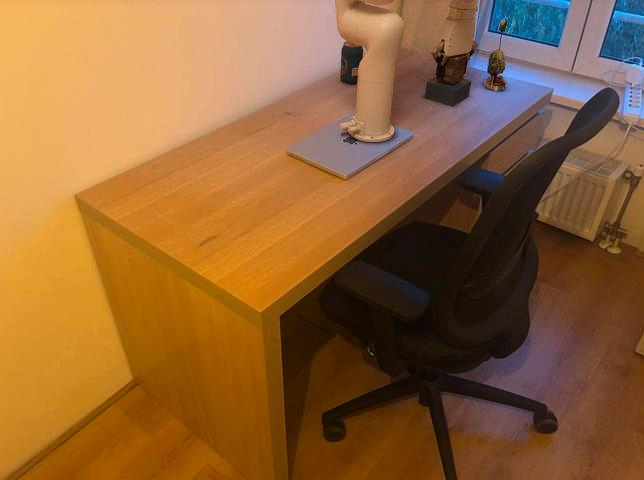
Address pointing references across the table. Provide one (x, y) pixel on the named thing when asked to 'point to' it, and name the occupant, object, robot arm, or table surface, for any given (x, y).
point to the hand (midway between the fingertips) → (450, 74)
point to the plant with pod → (497, 65)
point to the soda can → (350, 62)
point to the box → (454, 68)
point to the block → (447, 91)
